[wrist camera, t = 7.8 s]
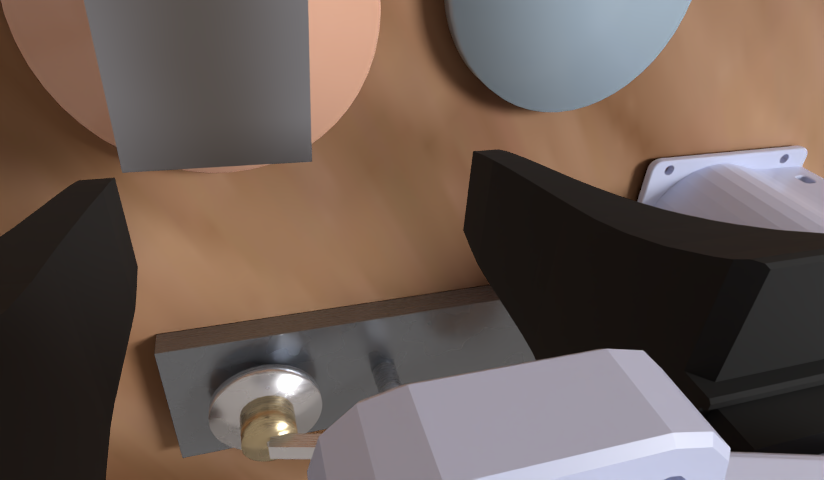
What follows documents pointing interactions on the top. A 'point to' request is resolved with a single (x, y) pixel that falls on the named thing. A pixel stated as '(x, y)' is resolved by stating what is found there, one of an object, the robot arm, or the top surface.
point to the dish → (82, 86)
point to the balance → (322, 367)
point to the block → (204, 81)
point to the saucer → (560, 46)
